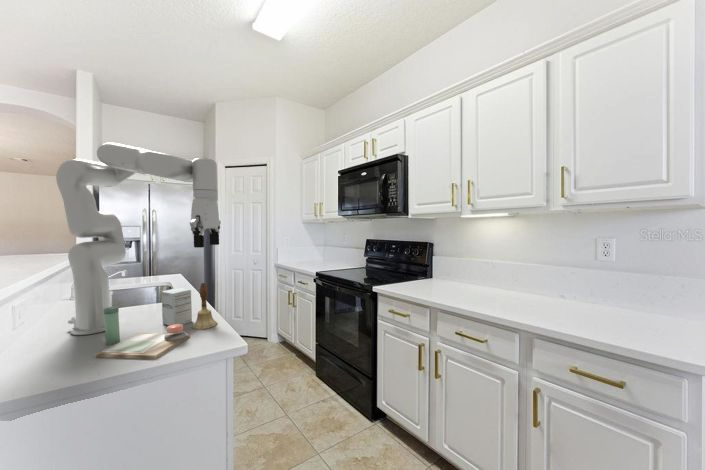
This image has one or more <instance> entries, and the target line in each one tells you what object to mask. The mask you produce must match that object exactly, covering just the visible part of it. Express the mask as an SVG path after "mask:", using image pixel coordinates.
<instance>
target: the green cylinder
mask: <svg viewBox="0 0 705 470" xmlns="http://www.w3.org/2000/svg"><path fill="white" fill-rule="evenodd" d="M103 311H104V322H105V331H104V337H105V338H104V339H105V340H104V341H105V342H104V343H105V345H106V346H113V345H115V344H117V343H119V342H121V340H120V339H121V337H120V336H121V335H120V319H119V318H120V317H119V316H120V315H119V311H120V309H119V306H110V307H109V308H105V309H103Z"/></svg>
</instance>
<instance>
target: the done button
mask: <svg viewBox="0 0 705 470" xmlns="http://www.w3.org/2000/svg"><path fill="white" fill-rule="evenodd" d="M181 331H184V324H183V325H182V324H174V325H167V327H166V333H177V332H181Z"/></svg>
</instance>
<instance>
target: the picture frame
mask: <svg viewBox="0 0 705 470" xmlns="http://www.w3.org/2000/svg"><path fill="white" fill-rule="evenodd" d="M190 337H191V334H190V333H187V332H186V331H185V330H182V331H181V332H177V333H167V332H166V333H165V332H163V333H160V332H138V333H136V334H134V335H132V336H130V337H128V338H126V339H123V340H120V342H119V343H117V344H113V345H110V346H109V347H107V348H104V349H103V350H101V351H99V352H97V353H96V354H95V357H96V358H109V359H112V358H113V359H141V360H142V359H145V360H157V359H158V358H160V357H161V356H163V355H165V354H166V353H168V352H169V351H170V350H172V349H173V348H175V347H177V346H178V345H180V344H181V343H183V342H184V341H186V340H188V339H189V338H190Z"/></svg>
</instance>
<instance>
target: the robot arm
mask: <svg viewBox="0 0 705 470" xmlns="http://www.w3.org/2000/svg"><path fill="white" fill-rule="evenodd" d="M96 156H97V159H98V160H99V161H98V162H97V161H93V160H87V159H81V158H79V159H78V158H75V159H74V158H73V159H68V160H65V161H63V162H62V163H61V164H60V165H59V167H58V168H57V170H56V173H55V178H56V179H55V181H56V184H57V187H58V190H59V193H60V195H61V198H62V201H63V208H64V211H65V217H66V221H67V226H68V230H69V232H70V235H72V236H73V237H75V238H78V239H88V238H90V239H91V238H98V240H92V241H90V240H89V241H83V242H79V243H77V244H74V245H73V246H71V248H70V250H69V251H68V254H67V257H68V258H67V259H68V262H69V266H70V269H71V272H72V277H73V279H72V280H73V290H74V291H73V292H74V304H75V306H74V307H75V316H72V317H71V319H69V320H68V321H67V323H68V325H73V327H72V328H71V329H70V334H71V335H74V336H85V335H93V334H98V333H102V332H105V322H104V311H103V309H105V308H109V307H111V298H110V296H111V295H110V293H111V292H110V278H109V275H108V274H107V272H106V270H105V269H104V267H106V266H111V265H116V264H120V263H121V262H122V261H123V260H124V259H125V257H126V255H127V254H126V253H127V251H126V245H125V244H126V243H125V236H124V233H123V228H122V223H121V221H120V219H119V218H118V217H117V216H116V215H115V214H114V213H112V212H109V211H108V212H107V211H99V210H98V207H97V202H96V199H95V196H94V195H93V193H92V192H91V191H90V190H89V188H88V187H87V186H95V187H104V188H112V187H115V186H118V185H120V184H121V183H124V181H126V180H128V179H129V178H130V177H133V176H134V175H135V174H140V175H150V176H154V177H160V178H162V179H163V178H164V179H170V180H174V181H180V182H184V183H192V202H191V211H190V212H191V214H190V215H191V216H190V221H189V227H190V230H191V232H192V236H193V247H194V248H198V249H199V248H202V249H203V248H205V235H203V234H204V232H205V230H209V232H210V233H209V245H211V246H218V245H220V232H221V231H220V229H221V223H222V222H221V220H220V217H219V216H220V215H219V213H220V212H219V206H218V198H219V197H218V195H219V193H218V165H217V162H216V161H215V160H213V159H212V158H203V157H202V158H201V157H197V158H194V159H193V160H191V159H190V160H189V159H186V158H183V157H180V156H176V155H172V154H168V153H163V152H158V151H152V150H149V149H145V148H141V147H136V146H135V147H134V146H131V145H125V144H121V143H117V142H116V143H115V142H106V143H103V144H101V145H100V146H99V147H97V150H96Z"/></svg>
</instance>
